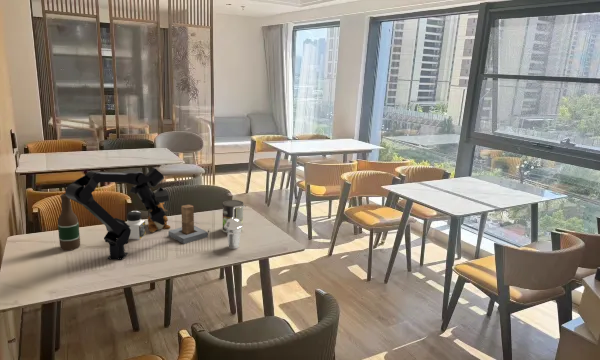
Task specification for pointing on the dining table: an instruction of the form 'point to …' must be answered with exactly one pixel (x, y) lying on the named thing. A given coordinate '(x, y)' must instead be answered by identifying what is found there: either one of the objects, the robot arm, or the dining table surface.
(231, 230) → the cup with straw
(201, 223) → the dining table surface
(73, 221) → the beer bottle
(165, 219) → the stuffed squirrel
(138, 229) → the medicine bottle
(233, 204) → the coffee can
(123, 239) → the robot arm
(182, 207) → the peg
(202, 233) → the socket
